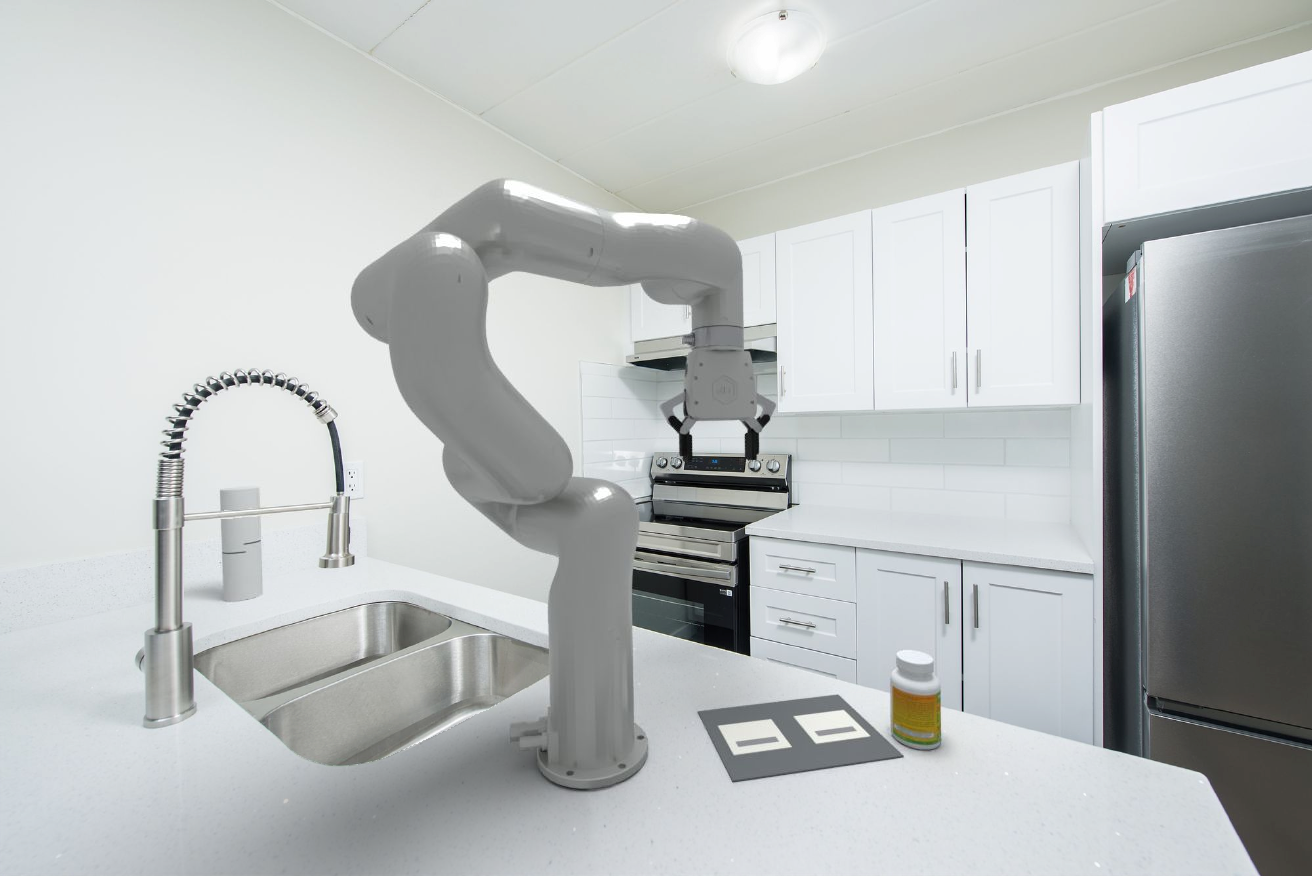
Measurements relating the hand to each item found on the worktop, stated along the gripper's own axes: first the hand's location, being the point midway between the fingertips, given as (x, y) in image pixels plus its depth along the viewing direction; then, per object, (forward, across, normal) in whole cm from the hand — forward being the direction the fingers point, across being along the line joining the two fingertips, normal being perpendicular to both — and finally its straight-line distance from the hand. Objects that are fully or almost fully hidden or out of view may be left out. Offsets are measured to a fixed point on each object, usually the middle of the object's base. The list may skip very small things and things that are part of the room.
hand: (719, 460), depth 78 cm
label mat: (+32, +4, -15) cm, 36 cm away
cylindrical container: (+32, -95, +63) cm, 119 cm away
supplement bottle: (+32, +18, -19) cm, 42 cm away
